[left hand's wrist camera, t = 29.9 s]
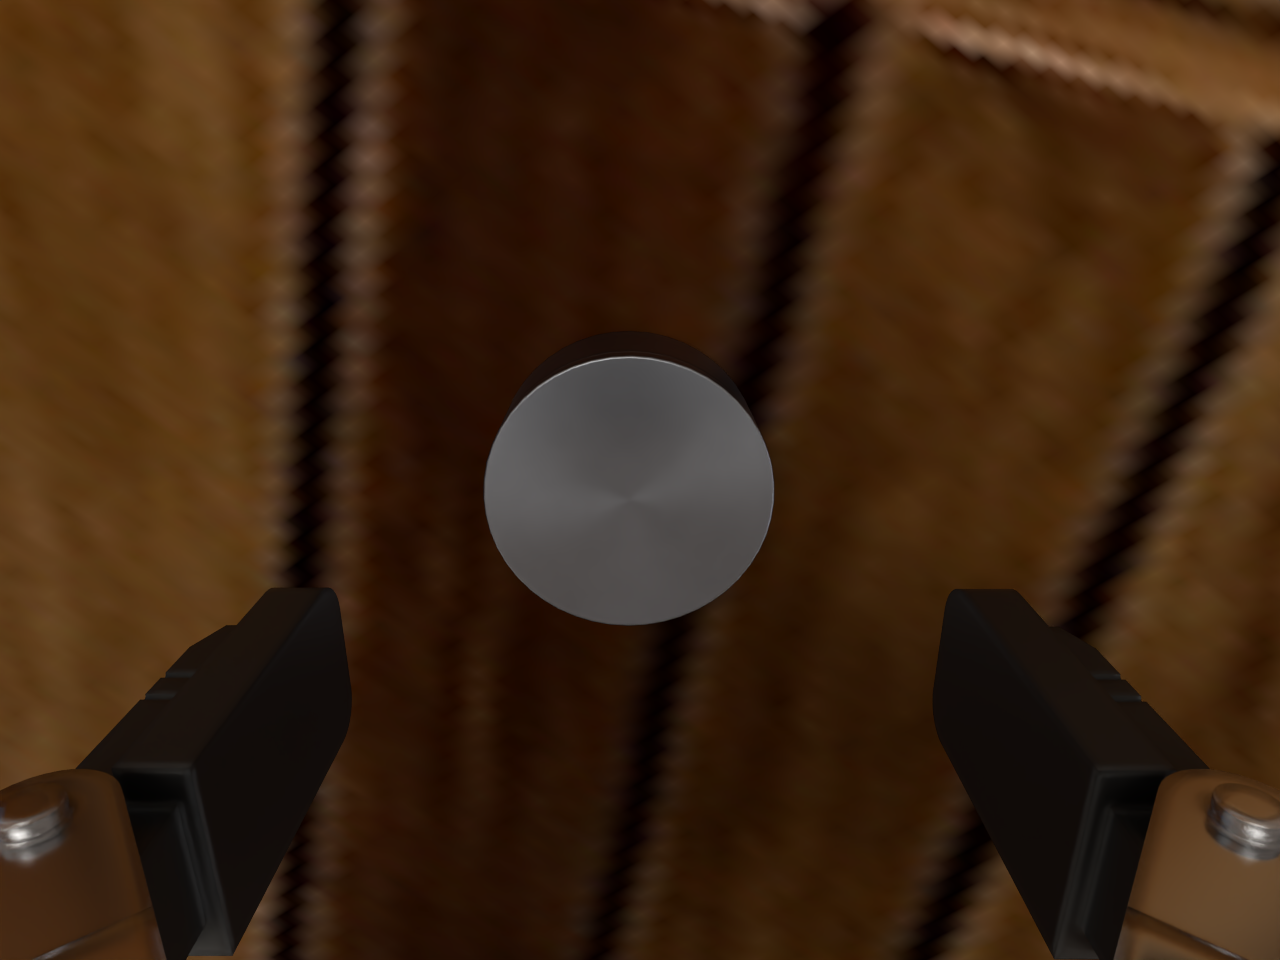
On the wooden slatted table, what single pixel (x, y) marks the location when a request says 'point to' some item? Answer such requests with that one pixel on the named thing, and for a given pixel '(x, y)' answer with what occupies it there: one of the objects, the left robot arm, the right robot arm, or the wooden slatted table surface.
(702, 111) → the wooden slatted table surface
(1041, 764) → the left robot arm
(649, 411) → the lid
